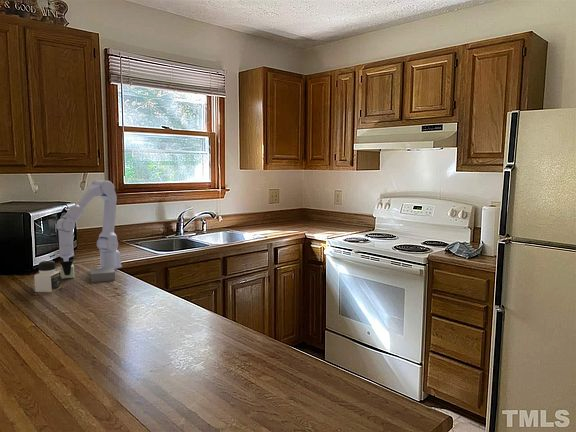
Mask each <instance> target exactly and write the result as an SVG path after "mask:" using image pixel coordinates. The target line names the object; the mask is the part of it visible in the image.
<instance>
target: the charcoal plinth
mask: <svg viewBox="0 0 576 432" xmlns="http://www.w3.org/2000/svg"><path fill="white" fill-rule="evenodd" d="M97 268H98V269H97ZM97 268H91V269H90V274H89V275H90V283H95V282H107V281H115V280H116V275H115V274H116V273H115V271H116V269H114V267H111V268H100V267H97Z"/></svg>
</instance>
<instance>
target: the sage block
mask: <svg viewBox="0 0 576 432" xmlns="http://www.w3.org/2000/svg"><path fill="white" fill-rule="evenodd" d="M60 276H61V279H72V278H74V277H75V265H74V264H73V263H72V265H71V272H70V275H65V274H64V271H63V267H62V265H61V266H60Z"/></svg>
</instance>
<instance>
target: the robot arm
mask: <svg viewBox="0 0 576 432" xmlns="http://www.w3.org/2000/svg"><path fill="white" fill-rule="evenodd" d="M115 188H116V187H115V184H114V183H112V181H110V180H99V179H95V180H93V181H92V182H91V184H90V185H88V188H87V190H86V191H85V192H84V194H83V195H82V197H81V198H80V199H79V201H78V202H77V204H73V205H72V206H69V207H68V210H67V212H66V213H65V214H64V215H62V216H61V217H62V218H59V219H58V220H57V221H56V224H55V228H56V230H57V231H58V232H57V233H58V244H59V246H58V247H59V248H58V249H59V253H57V254H56V256H57V257H60V260H59V264H60V265H61V266H62V267H63V271H64V274H65V275H70V272H71V265H73V263H74V258H75V253H74V237H73V236H74V233H73V230H74V229H75V228H76V224H77V221H78V220H79V219H80V217H82V215H83V214H84V211H85V210H84V209H85V208H86V207H87V205H89V203H91V201H92V200H94V198H95V197H99V196H101V198H102V199H103V200H104V203H103V204H104V205H103V215H102V217H103V218H102V227H101V228H102V231H101V232H100V233H99V235H98V239H97V241H96V247H97V248H98V249H99V258H100V261H99V262H100V264H99V265H100V267H97V268H96V269H98V268H111V267H114V270H116V269H120V268H122V267H123V265H122V262H121V261H122V260H121V259H122V257H121V252H120V251H119V250H118V247H119V241H118V236H117V234H116V233H115V225H116V215H117V214H116V213H117V212H116V211H117V201H118V200H117V199H118V196H117V192H116V190H115Z"/></svg>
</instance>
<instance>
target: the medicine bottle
mask: <svg viewBox="0 0 576 432" xmlns="http://www.w3.org/2000/svg"><path fill="white" fill-rule="evenodd" d="M33 278H34V279H33V280H34V292H36V293H53V292H55V291H57V290H59V289H61V287H62V282H61V281H62V280H61V279H62V278H61V270H60V271H59V270H56V262H55V261H53V260H43V261H40V262H39V263H38V273H36V274H34V277H33Z"/></svg>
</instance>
